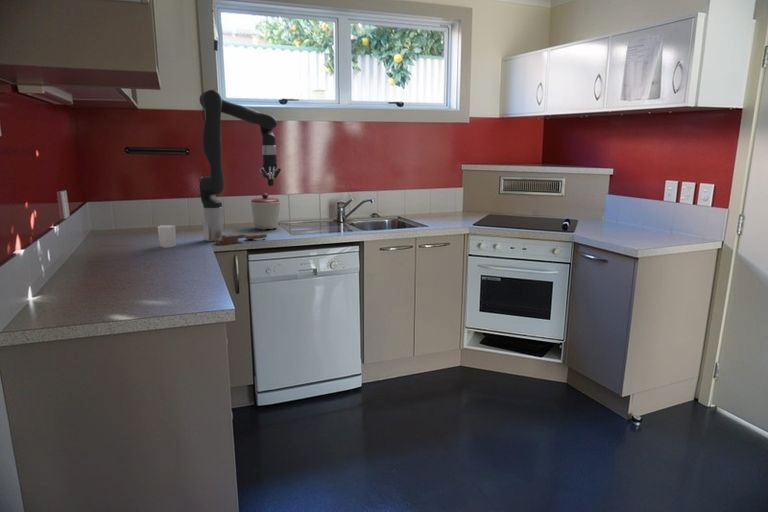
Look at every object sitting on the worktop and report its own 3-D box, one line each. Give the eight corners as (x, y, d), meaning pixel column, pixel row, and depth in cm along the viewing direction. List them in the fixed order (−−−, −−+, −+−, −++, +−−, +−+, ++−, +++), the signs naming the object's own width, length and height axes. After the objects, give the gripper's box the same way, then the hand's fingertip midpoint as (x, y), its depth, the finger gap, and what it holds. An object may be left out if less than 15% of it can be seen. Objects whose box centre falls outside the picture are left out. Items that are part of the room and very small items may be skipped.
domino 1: (244, 237, 263) (226, 240, 257) (239, 236, 267) (221, 238, 260) (244, 234, 263) (226, 236, 256) (239, 233, 267) (221, 235, 260)
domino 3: (238, 244, 262) (220, 247, 255) (233, 243, 265) (215, 246, 258) (238, 241, 262) (220, 244, 255) (233, 240, 265) (215, 242, 258)
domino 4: (266, 237, 272) (248, 239, 266) (262, 236, 276) (244, 238, 270) (266, 234, 272) (248, 236, 266) (262, 233, 276) (244, 235, 270)
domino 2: (238, 241, 261) (219, 243, 255) (234, 240, 265) (215, 242, 259) (237, 238, 261) (218, 240, 255) (234, 237, 265) (215, 239, 258)
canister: (252, 231, 295) (250, 195, 291) (249, 227, 312) (247, 192, 307) (283, 230, 301) (282, 194, 296) (279, 225, 317) (278, 191, 313)
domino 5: (256, 242, 266) (246, 240, 273) (264, 241, 270) (254, 238, 277) (256, 239, 266) (246, 237, 273) (264, 238, 269) (254, 236, 276)
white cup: (172, 244, 256) (171, 224, 254) (179, 246, 251) (177, 226, 249) (156, 246, 251) (154, 226, 249) (163, 248, 246) (161, 228, 243)
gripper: (276, 153, 285) (277, 185, 289) (255, 153, 276) (256, 186, 280) (283, 154, 280) (284, 185, 284) (262, 154, 271) (263, 187, 275)
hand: (270, 186), depth 282 cm, fingers closed
